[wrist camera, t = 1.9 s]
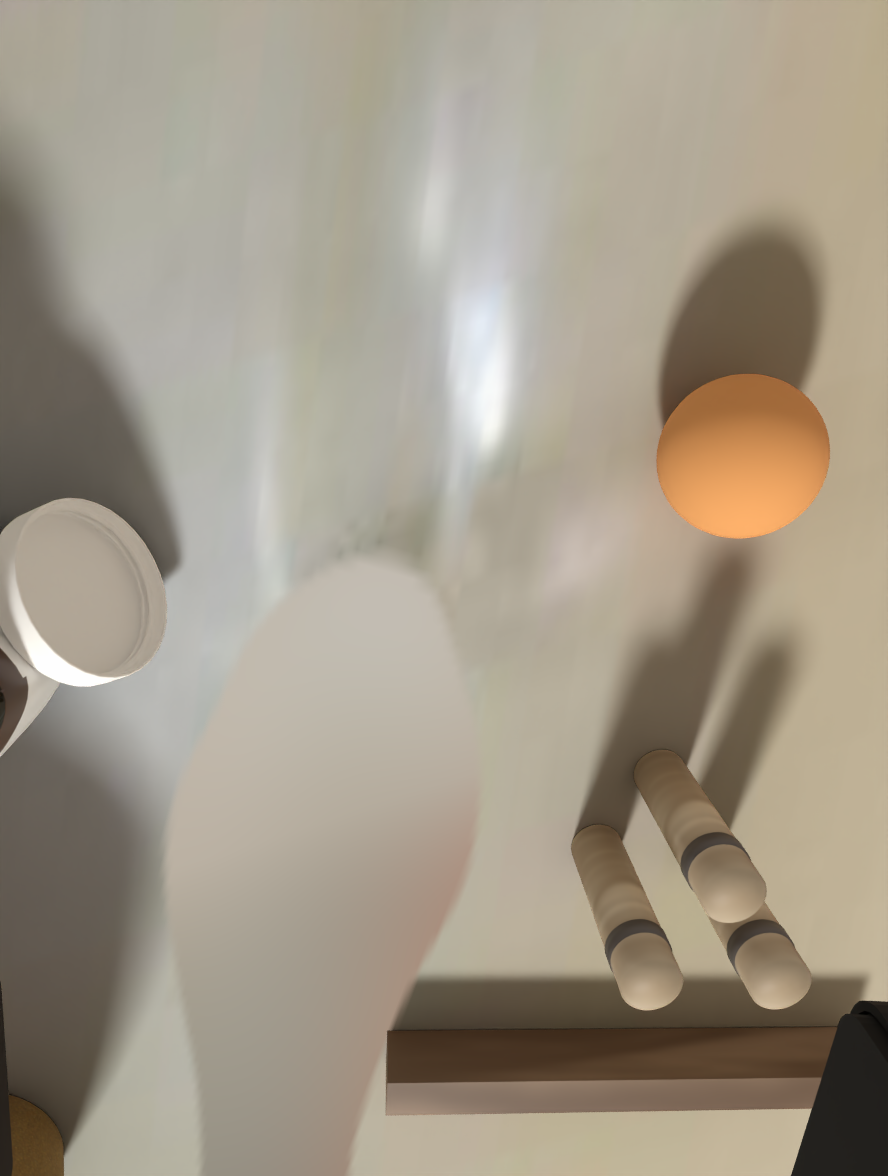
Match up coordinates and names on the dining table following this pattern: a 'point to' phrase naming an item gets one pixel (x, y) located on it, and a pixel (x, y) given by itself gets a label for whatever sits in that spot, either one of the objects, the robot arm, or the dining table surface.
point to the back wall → (604, 1070)
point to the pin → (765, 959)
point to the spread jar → (72, 606)
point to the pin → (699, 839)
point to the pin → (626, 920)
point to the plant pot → (34, 1141)
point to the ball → (743, 456)
